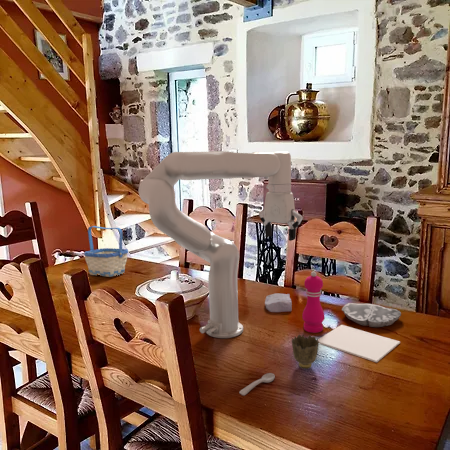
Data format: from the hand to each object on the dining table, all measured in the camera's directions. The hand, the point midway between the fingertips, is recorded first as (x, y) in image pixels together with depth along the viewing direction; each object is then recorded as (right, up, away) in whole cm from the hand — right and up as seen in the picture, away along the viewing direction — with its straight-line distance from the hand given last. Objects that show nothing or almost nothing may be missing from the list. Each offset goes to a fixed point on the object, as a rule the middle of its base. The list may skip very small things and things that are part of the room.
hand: (280, 238), depth 156 cm
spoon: (-10, -38, -38) cm, 54 cm away
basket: (-76, -20, +64) cm, 102 cm away
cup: (+3, -35, -29) cm, 46 cm away
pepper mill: (+11, -30, -4) cm, 32 cm away
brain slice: (+32, -29, +2) cm, 43 cm away
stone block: (+1, -27, +17) cm, 32 cm away
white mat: (+22, -32, -15) cm, 42 cm away
